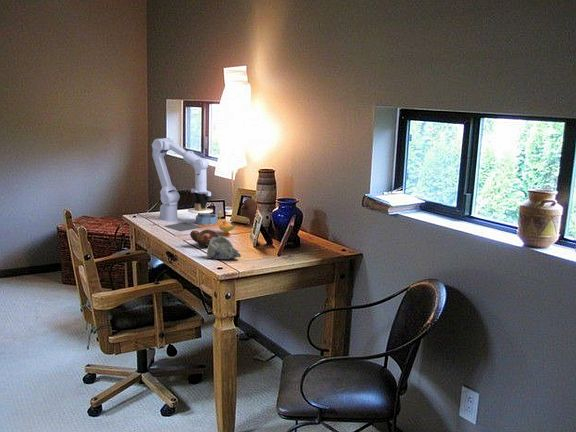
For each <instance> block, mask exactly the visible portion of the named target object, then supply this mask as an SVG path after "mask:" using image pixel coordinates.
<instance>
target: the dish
mask: <svg viewBox="0 0 576 432" xmlns="http://www.w3.org/2000/svg"><path fill="white" fill-rule="evenodd" d="M218 220H219V216H218V215H217V214H213V213H204V214H201V213H198V214H196V216H195V223H196V224H197V225H200V226H212V225H217V224H218Z"/></svg>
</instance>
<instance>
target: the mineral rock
mask: <svg viewBox="0 0 576 432" xmlns="http://www.w3.org/2000/svg"><path fill="white" fill-rule="evenodd" d="M206 256H207V258H208V259H215V260H219V259H220V260H230V259H236V258H241V257H242V254H241V253H239V250H238V249H237V248H235V247H234V245H233V244H232V242H231V240H229V239H228V238H227V237H224V236H223V235H219V236H218V237H217V238H216V237H212V238H211V240H210V242H209V245H208V246H207V250H206Z"/></svg>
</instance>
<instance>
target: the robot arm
mask: <svg viewBox="0 0 576 432" xmlns="http://www.w3.org/2000/svg"><path fill="white" fill-rule="evenodd" d="M151 147H152V148H151V149H152V154H151V155H152V156H151V157H152V159H153V163H154V165H155V169H156V172H157V176H158V179H159V182H160V185H161V190H160V191H159V194H160V202H161V203H162V204H161V205H160V207H159V218H158V220H159V221H165V222H167V223H168V222H169V223H170V222H178V221H181V219H180V218H178V202H179V200H180V197H181V196H180V194H179V192H178V190H177V188H176V187H175V186H174V185H173V183H172V180H171V178H170V177H171V176H170V173H169V171H168V168H167V164H166V161H165V155H166V154H167V152H169V151H172V152H174V153H175V154H177V155H179V156H180V157H182V158H183V161H185V162H187V163H188V164H190V165H191V166H192V167H193V169H194V174H195V175H194V176H195V177H194V178H195V179H194V180H195V188H190V193H193V194H191V195H192V197H193V199H194V201H195V203H201V208H202V209H204V208H207V205H206V204H207V203H208V201H209V199H210V197H211V196H212V192H211V191H209V190H207V188H208V186H207V184H208V183H207V169H208V168H209V161H208V160H207V159H206V158H204V157H203V158H202V157H201V156H199V155H197V154H195V153H194V151H193V150H186V149H184V147H182V146H180V145H179V144H178V143H176V142H175V140H172V139H171V138H170V137H165V138H155V139H154V140H153V142H152V143H151Z"/></svg>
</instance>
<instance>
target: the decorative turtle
mask: <svg viewBox="0 0 576 432" xmlns="http://www.w3.org/2000/svg"><path fill="white" fill-rule="evenodd" d="M189 236H190V238H191V239H192V240H193V241H194V242H196V244H197V245H198V246H199V248H200V249H204V247H205V246H207V247H208V245H209V242H210V240H211V238H212V237H216V238H217V237H218V236H220V234H219V233H218V232H216V231H214V230H212V229H203V230H201V231H198V230H197V229H193V230H191V232H190V235H189Z"/></svg>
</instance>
